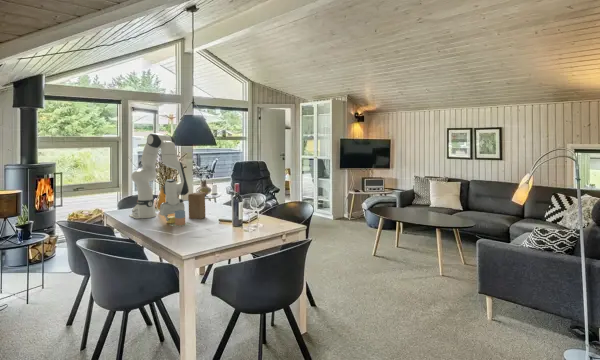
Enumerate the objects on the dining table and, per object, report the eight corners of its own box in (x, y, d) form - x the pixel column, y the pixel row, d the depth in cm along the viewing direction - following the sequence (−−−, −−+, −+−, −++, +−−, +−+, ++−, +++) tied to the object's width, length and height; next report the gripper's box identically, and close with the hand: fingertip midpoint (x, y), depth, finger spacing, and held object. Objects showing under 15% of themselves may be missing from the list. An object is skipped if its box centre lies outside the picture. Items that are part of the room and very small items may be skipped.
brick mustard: (166, 223, 278) (166, 217, 278) (172, 222, 282) (172, 216, 282) (171, 224, 275) (170, 217, 275) (176, 223, 280) (176, 216, 279)
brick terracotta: (175, 224, 271) (175, 217, 271) (180, 223, 275) (180, 216, 275) (179, 225, 269) (179, 218, 268) (185, 224, 273) (185, 217, 272)
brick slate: (179, 218, 268) (179, 211, 268) (175, 217, 271) (174, 211, 270) (185, 217, 272) (184, 210, 272) (180, 216, 275) (180, 210, 274)
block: (200, 219, 291) (199, 194, 289) (188, 219, 293) (187, 194, 291) (206, 217, 301) (205, 192, 299) (194, 216, 303) (193, 192, 301)
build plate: (168, 226, 270) (168, 224, 270) (181, 222, 280) (181, 221, 280) (179, 228, 264) (179, 227, 264) (192, 224, 274) (192, 223, 274)
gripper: (162, 203, 267) (164, 222, 268) (185, 199, 284) (186, 217, 286) (157, 202, 270) (158, 221, 272) (179, 199, 288) (180, 216, 289)
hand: (172, 219), depth 279 cm, fingers open, 8 cm apart
